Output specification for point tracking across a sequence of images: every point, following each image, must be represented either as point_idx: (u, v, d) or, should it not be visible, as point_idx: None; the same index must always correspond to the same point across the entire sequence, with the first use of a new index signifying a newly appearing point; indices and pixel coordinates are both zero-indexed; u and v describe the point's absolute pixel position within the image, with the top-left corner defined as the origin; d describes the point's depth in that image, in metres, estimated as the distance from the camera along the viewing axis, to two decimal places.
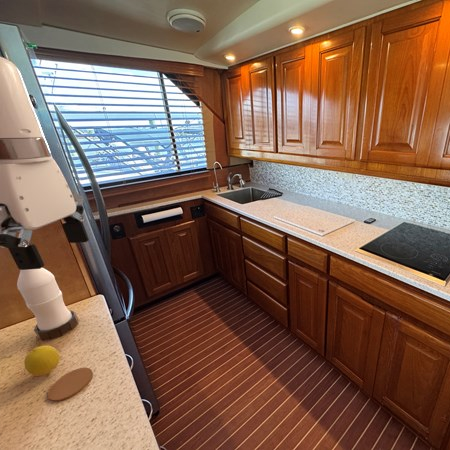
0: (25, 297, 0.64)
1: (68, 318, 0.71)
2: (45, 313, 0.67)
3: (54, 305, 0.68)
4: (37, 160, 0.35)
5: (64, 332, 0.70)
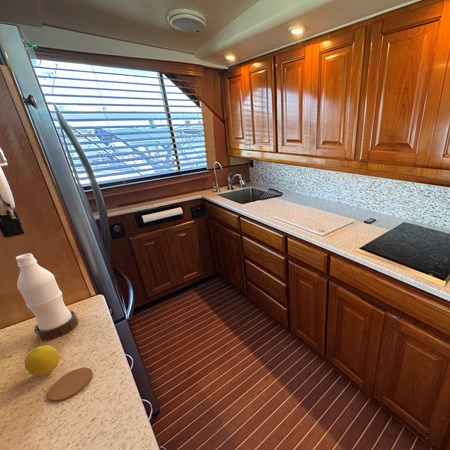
0: (25, 297, 0.64)
1: (68, 318, 0.71)
2: (45, 313, 0.67)
3: (54, 305, 0.68)
4: (6, 164, 0.55)
5: (64, 332, 0.70)
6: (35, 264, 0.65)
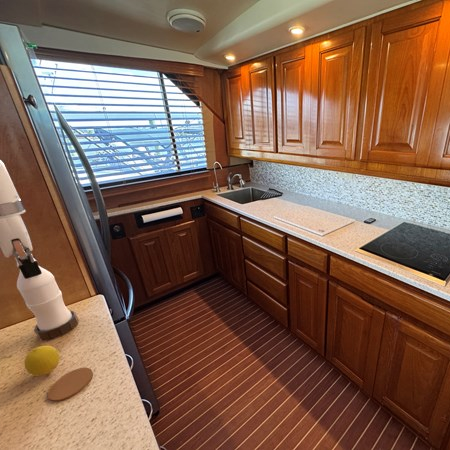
0: (25, 297, 0.64)
1: (68, 318, 0.71)
2: (45, 313, 0.67)
3: (54, 305, 0.68)
4: (24, 211, 0.61)
5: (64, 332, 0.70)
6: None
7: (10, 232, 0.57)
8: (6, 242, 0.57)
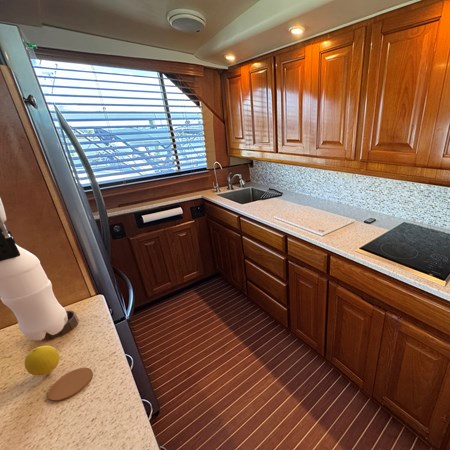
0: None
1: (61, 317, 0.53)
2: (29, 311, 0.49)
3: (40, 299, 0.49)
4: None
5: (64, 332, 0.70)
6: None
7: None
8: None
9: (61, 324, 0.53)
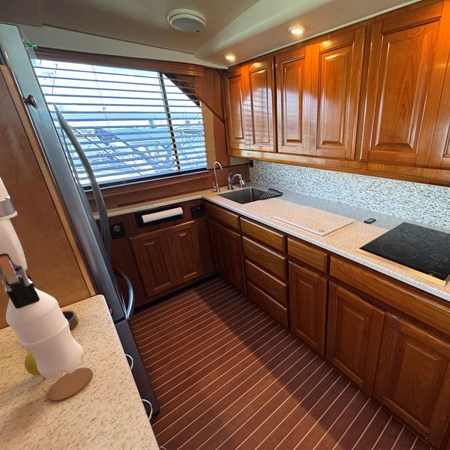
0: (18, 334, 0.46)
1: (78, 355, 0.54)
2: (47, 353, 0.49)
3: (58, 341, 0.50)
4: (16, 214, 0.43)
5: None
6: None
7: None
8: None
9: (78, 362, 0.54)
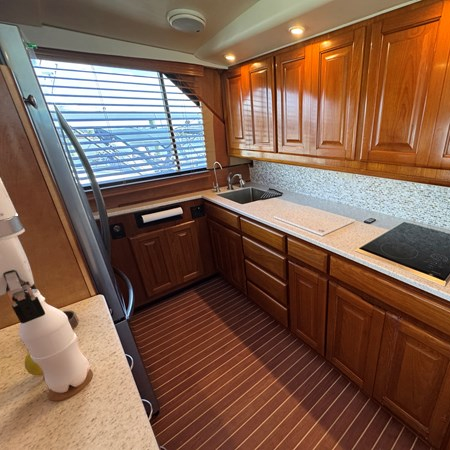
0: (29, 348, 0.48)
1: (84, 369, 0.55)
2: (56, 366, 0.51)
3: (67, 355, 0.52)
4: (23, 231, 0.44)
5: None
6: (43, 304, 0.48)
7: (2, 262, 0.40)
8: None
9: (84, 375, 0.55)
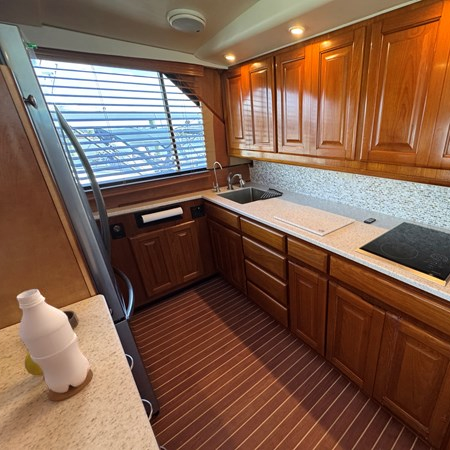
0: (29, 348, 0.48)
1: (84, 369, 0.55)
2: (56, 366, 0.51)
3: (67, 355, 0.52)
4: None
5: None
6: (43, 304, 0.48)
7: None
8: None
9: (84, 375, 0.55)
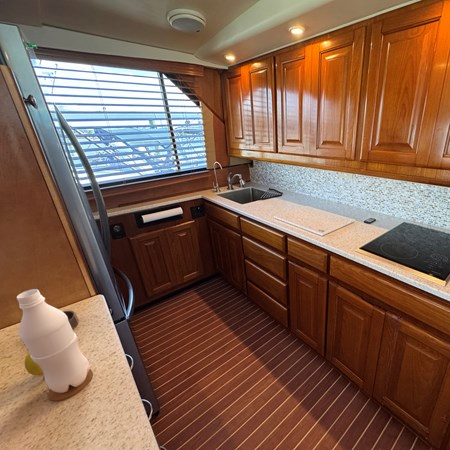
0: (29, 348, 0.48)
1: (84, 369, 0.55)
2: (56, 366, 0.51)
3: (67, 355, 0.52)
4: None
5: None
6: (43, 304, 0.48)
7: None
8: None
9: (84, 375, 0.55)
